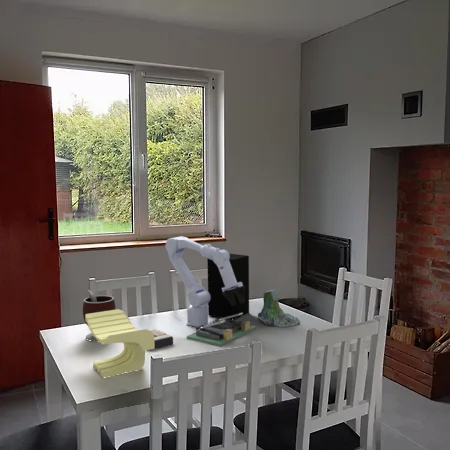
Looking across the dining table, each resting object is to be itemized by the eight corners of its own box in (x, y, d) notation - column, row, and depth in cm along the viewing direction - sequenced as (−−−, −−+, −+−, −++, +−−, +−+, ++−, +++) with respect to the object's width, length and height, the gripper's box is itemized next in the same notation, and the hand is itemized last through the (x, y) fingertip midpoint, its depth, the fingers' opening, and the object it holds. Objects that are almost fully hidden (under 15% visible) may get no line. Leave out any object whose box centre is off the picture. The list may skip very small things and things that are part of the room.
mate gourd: (122, 336, 215) (121, 292, 213) (95, 344, 205) (93, 298, 203) (102, 329, 225) (101, 286, 223) (75, 337, 215) (73, 292, 213)
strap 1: (200, 329, 214) (199, 327, 214) (204, 327, 216) (203, 326, 216) (221, 323, 207) (220, 321, 207) (225, 321, 209) (224, 319, 209)
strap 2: (218, 321, 225) (217, 319, 225) (222, 319, 227) (221, 318, 228) (239, 315, 218) (238, 313, 218) (242, 313, 220) (242, 312, 221)
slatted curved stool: (155, 377, 171) (154, 327, 169) (110, 387, 163) (108, 335, 161) (126, 351, 196) (125, 308, 195) (87, 359, 188) (85, 314, 187)
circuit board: (186, 338, 211) (186, 336, 211) (223, 322, 234) (223, 320, 234) (220, 346, 201) (220, 343, 201) (255, 328, 224) (255, 326, 224)
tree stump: (290, 331, 221) (281, 292, 221) (253, 334, 232) (244, 298, 232) (306, 318, 237) (297, 283, 236) (270, 322, 247) (261, 288, 247)
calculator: (156, 328, 216) (173, 335, 204) (156, 337, 216) (173, 345, 204) (133, 332, 209) (149, 340, 197) (134, 342, 210) (150, 350, 197)
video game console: (231, 320, 236) (230, 259, 233) (208, 315, 245) (207, 257, 242) (249, 313, 248) (248, 255, 245) (226, 309, 257) (225, 253, 254)
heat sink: (193, 334, 213) (193, 326, 212) (222, 322, 231) (222, 314, 230) (224, 341, 203) (224, 333, 203) (252, 328, 221) (251, 320, 221)
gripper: (243, 270, 217) (253, 299, 216) (226, 276, 229) (236, 303, 227) (231, 274, 213) (241, 304, 212) (214, 280, 225) (224, 308, 223)
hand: (238, 304), depth 219 cm, fingers open, 7 cm apart
